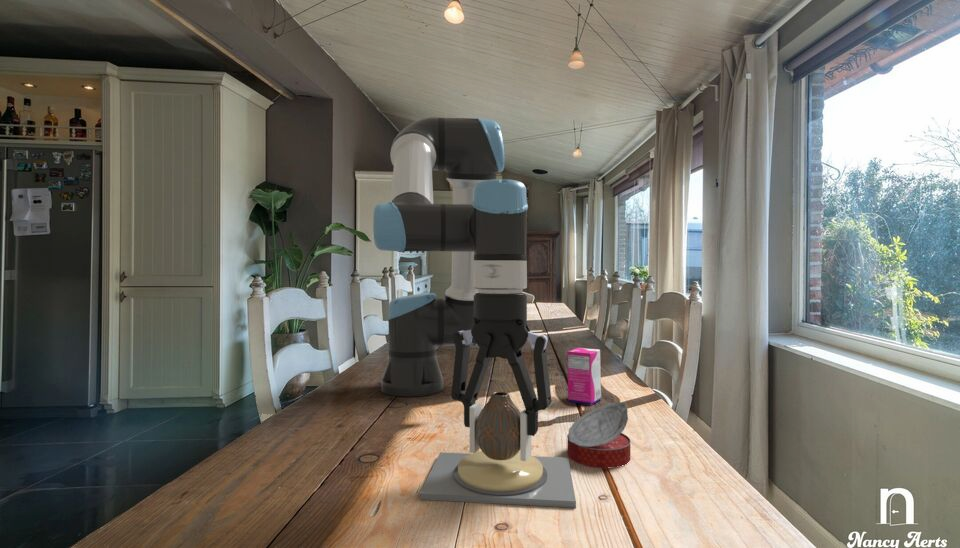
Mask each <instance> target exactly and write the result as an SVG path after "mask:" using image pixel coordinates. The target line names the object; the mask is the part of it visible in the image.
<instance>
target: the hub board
mask: <svg viewBox="0 0 960 548" xmlns="http://www.w3.org/2000/svg"><path fill="white" fill-rule="evenodd" d="M569 459H570V458H569V457H559V456H558V457H556V456H537V455H536V456H535V455H534V456H533V455H532V454H531V455H530V457H529V458H528V459H527V460H526V461H520V451H519V452H518V453H517V454H516V455H515V456H514V457H513V458H511V459H508V460H493V459H490V458H488V457H487V456H486V455H485V454H484V453H483V452H482V450H480V451H477V452H476V453H465V452H464V453H463V452H461V453H460V452H445V451H443V452H441V451H440V452H439V454H438V456H437V458H436V459H435V462H434V464H433V466H432V468H431V470H430V472H429V473H428V476H427V478H426V480H425V481H424V484H423V486H422V488H421V490H420V492H419V500H422V501H423V500H425V501H444V502H445V501H446V502H464V503H479V504H480V503H481V504H482V503H483V504H498V505H500V504H502V505H518V506H520V505H521V506H537V507H538V506H539V507H555V508H561V507H562V508H571V509H572V508H574V509H575V508H577V500H576V495H575V489H574V483H573V477H572V470H571V466H570V460H569Z"/></svg>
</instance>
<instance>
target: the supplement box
mask: <svg viewBox="0 0 960 548" xmlns="http://www.w3.org/2000/svg"><path fill="white" fill-rule="evenodd" d="M566 353H567V354H566V355H567V356H566V357H567V361H566V362H567V399H568V402H570V403H574V404H575V403H576V404H580V403H583V404H582V405H585V404H589V405H588V406H591V405H592V406H593V405H595V404H596V403H598V402H600V401H601V400H602V384H601V383H602V382H601V381H602V379H601V378H602V377H601V376H602V374H601V349H597V348H584V347H576V348H574V349H571V350H570V349H569V350H568V351H567V352H566ZM600 399H601V400H600ZM599 400H600V401H599ZM597 401H598V402H597ZM594 403H595V404H594Z"/></svg>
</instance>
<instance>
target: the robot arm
mask: <svg viewBox="0 0 960 548" xmlns="http://www.w3.org/2000/svg"><path fill="white" fill-rule="evenodd" d="M390 161H391V164H392V166H393V171H392V179H391V188H390V197H389V202H384V203H382V202H381V203H379V204H376V205H375V206H374V210H373V219H372V222H373V224H372V225H373V226H372V229H373V230H372V231H373V241H374V246H375V248H377V250H380V251H387V252H398V253H404V252H451V283H450V284H451V285H450V286H449V287H448V288H447V289H446V290H445V291H444V292H445V293H444V294H445V295H444V298H438V296H437V295H436V293H434V292H427V293H418V294H412V295H406V296H405V295H404V296H400V297H396V298H393V299H392V300H390V302H389V304H388V312H387V314H388V316H387V320H388V357H387V362H386V365H385V368H384V371H383V372H384V373H383V375H382V377H381V384H380V385H381V388H380V389H381V390H380V391H381V393H382V392H383V394H386V395H389V396H395V397H420V396H421V397H422V396H429V395H433V394H437V393H439V392H441V391H443V390H444V378H443V374H442V372H441V367H440V365H439V362H438V359H437V347H442V346H443V347H447V346H448V347H449V346H451V347H452V346H454V347H455V353H454V365H453V375H452V383H451V384H452V385H451V392H450V393H451V398H452V400H453V401H458V402H461V403H462V405H463V424H464V427H465V428H469V454H473V453H476V452H479V450H481V449H480V447H479V445H478V442H477V437H476V424H477V419H478V416H479V414H480V412H481V410H482V409H483V407H482V406H483V405H482V403H483V402H480V401H479V402H477V401H478V399H479V397H478V396H479V393H480V391H481V388H482V386H483V385H482V384H483V382H484V379H485V376H486V374H487V371H488V367H489V366H490V362H491V360H492V359H493V358H500V359H505V360H507V362H508V365H509V366H510V367H511V371H512V373H513V376H514V379H515V381H516V385H517V388H518V391H519V395H520V396H521V400H522V403H523V405H524V409H523V410H522V411H520V451H519V452H520V461H526V460H527V459H528V458H529V457H530V455H531V456H532V437H534V436H535V435H536V434H537V433H538V430H539V411H542V410H543V411H544V410H547V408H548V407H550V405H551V404H552V392H551V383H550V374H549V364H548V356H547V349H548V346H549V341H550V336H549V335H548V334H542V335H541V334H538V333H535V332H532V331H531V330H530V328H529V326H528V320H527V318H528V299H527V298H528V295H527V294H526V293H525V292H524V291H523V290H525V289H527V288H528V267H527V266H528V264H527V263H528V261H527V251H528V250H527V248H528V247H527V241H528V235H527V234H528V233H527V232H528V231H527V230H528V227H527V226H528V223H527V222H528V221H527V220H528V209H529V205H528V201H527V200H528V198H527V187H526V186H525V184H524V183H523V182H521V181H519V180H514V179H505V178H504V179H503V178H497V174H500V173H502V172H503V171H504V169H505V147H504V140H503V134H502V130H501V127H500V125H499V123H498V122H497V121H495V120H492V119H485V118H479V117H477V118H473V117H472V118H469V117H468V118H467V117H466V118H465V117H463V118H462V117H438V116H435V117H434V116H433V117H424V118H422V119H418V120H416V121H413V122H412V123H409V124H408V125H407V126H406V127H404V128H403V129H401V131H399V132H398V134H397V135H396V137H394V139H393V142H392V143H391V147H390ZM433 171H438V172H440V171H441V172H446V173H445V174H446V175H445V176H446V178H445V179H446V181H447V182H448V183H449V184H450V185H451V186H452V204H451V203H446V204H445V203H434V189H433V188H434V187H433ZM527 342H529V344H530V345H529V346H530V348H531V350H533V351H532V352H533V353H532V355H533V357H532V358H533V365H534V366H533V367H534V376H535V384H536V392H535V388H534V386H533V383H532V380H531V377H530V374H529V371H528V369H527V365H526V361H525V356H524V353H523V350H522V348H523V347H524V345H526V343H527ZM471 346H472V347H476V346H478V347H479V348H478V351H477V354H476V358H475V361H476V362H475V364H474V367H473V370H472V373H471V375H470V377H469V381H468V374H469V373H468V372H469V363H470V353H471ZM467 382H468V384H467ZM536 393H537V394H536Z"/></svg>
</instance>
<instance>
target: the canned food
mask: <svg viewBox="0 0 960 548" xmlns="http://www.w3.org/2000/svg"><path fill="white" fill-rule="evenodd" d="M628 416H629V415H628V407H627V406H626V404H624V403H622V402H617V401H614V402H611V403H605V404H603V405H601V406H598V407H595V408H593V409H591V410H590V411H588V412H586V413H584V414H583V415H581V416H580V417H579V418H577V419H576V420H575V421H574V422H573V423H572V425H571V426H570V427H569V429H568V433H567V456H568V457H567V458H568V459H570V460H571V461H573V462H574V463H577V464H579V465H583V466H585V467H589V468H596V469H609V468H608V467H617V466H622V465H624V466H626V465H628V464H629V463H630V462H629V461H631V444H632V443H631V442H632V441H631V438H630V437H629V436H627V435H626V434H625V433H623V432H624V430H625V428H626V426H627V423H628V420H629V417H628ZM628 462H629V463H628ZM627 463H628V464H627ZM625 464H626V465H625ZM622 467H623V466H622ZM617 468H618V467H617Z"/></svg>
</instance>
